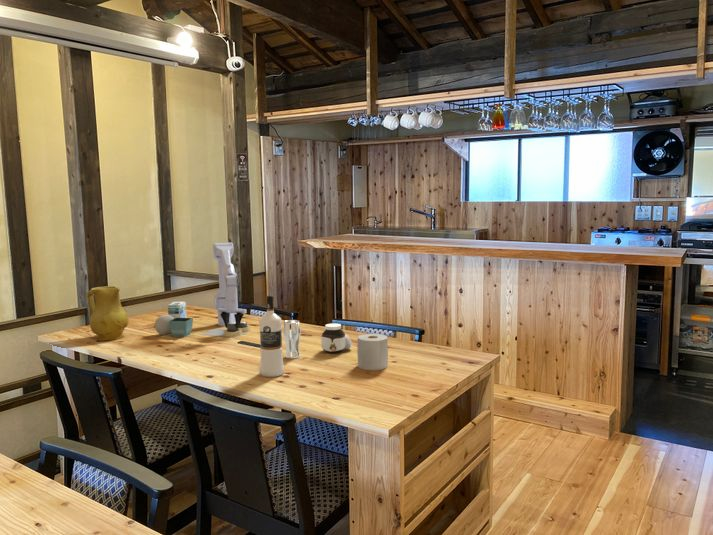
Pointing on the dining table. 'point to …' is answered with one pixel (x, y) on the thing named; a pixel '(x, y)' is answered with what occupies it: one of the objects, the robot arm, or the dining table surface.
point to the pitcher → (106, 313)
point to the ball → (163, 324)
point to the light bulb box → (177, 310)
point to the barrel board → (223, 332)
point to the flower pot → (181, 326)
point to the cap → (231, 327)
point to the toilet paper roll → (372, 351)
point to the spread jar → (335, 339)
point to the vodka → (271, 342)
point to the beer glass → (292, 338)
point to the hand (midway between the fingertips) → (232, 327)
